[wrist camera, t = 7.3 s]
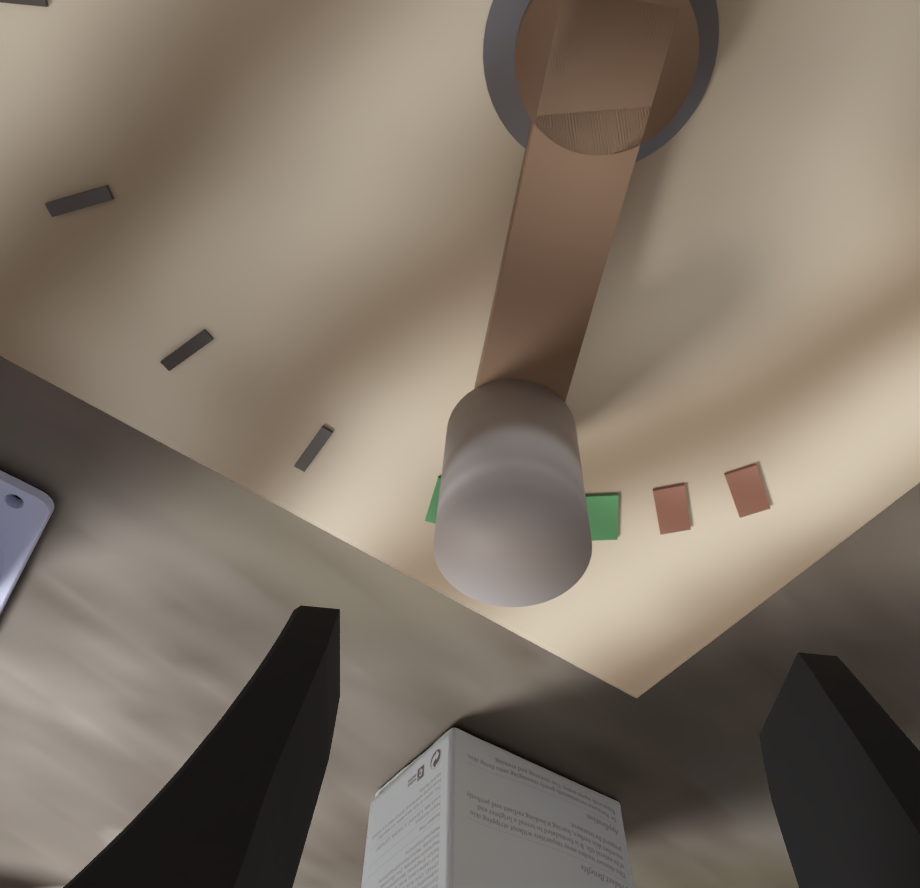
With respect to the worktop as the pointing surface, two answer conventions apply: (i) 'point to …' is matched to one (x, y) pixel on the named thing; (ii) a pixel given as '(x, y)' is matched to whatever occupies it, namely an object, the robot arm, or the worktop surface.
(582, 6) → the lever
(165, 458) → the worktop surface
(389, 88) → the dial board
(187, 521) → the worktop surface
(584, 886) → the skincare box
